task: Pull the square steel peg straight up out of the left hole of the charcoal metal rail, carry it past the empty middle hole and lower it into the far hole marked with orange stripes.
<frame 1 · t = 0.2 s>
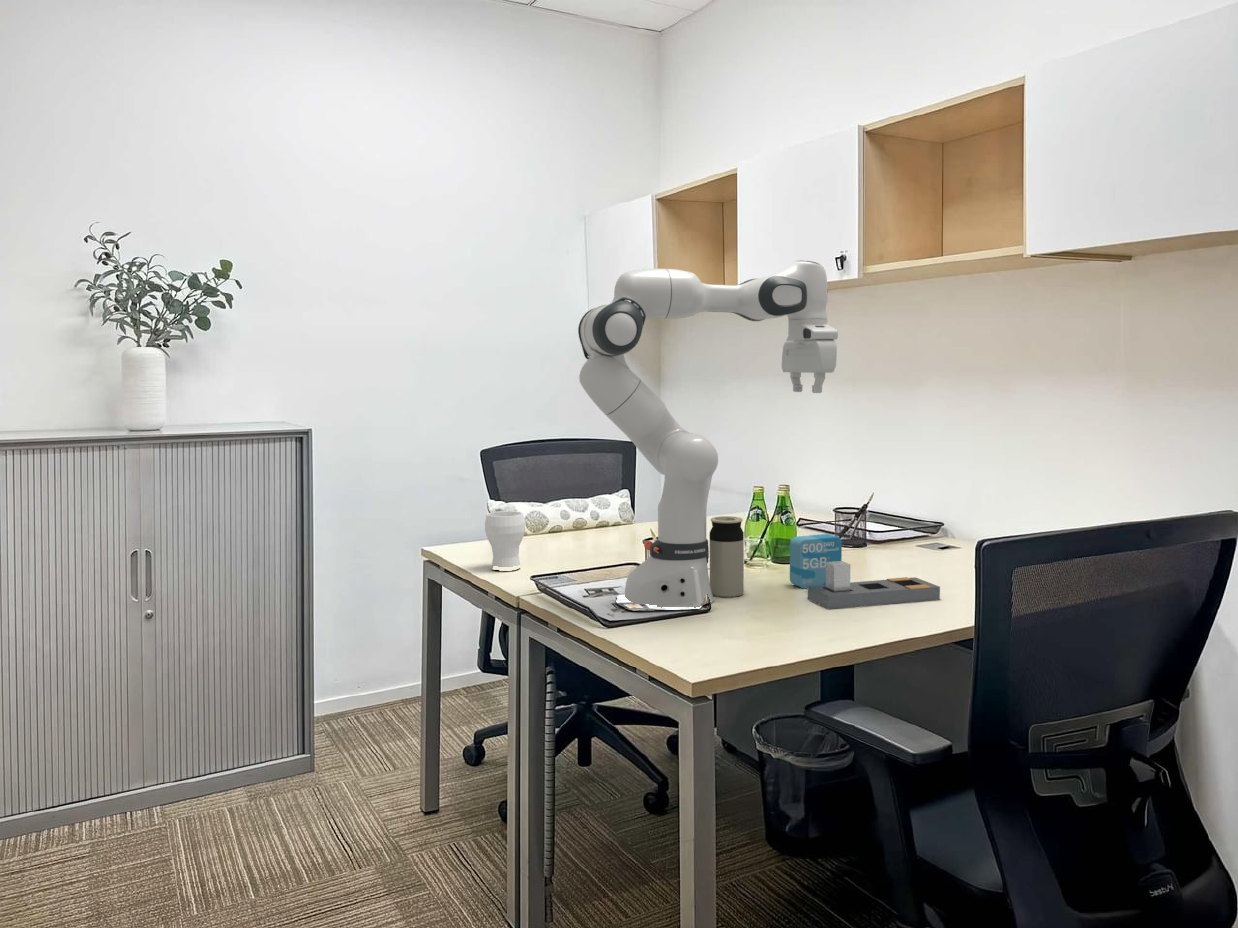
hand: (807, 392, 221), 47 cm above the table, tool pointing down, fingers open, 8 cm apart
cup: (506, 569, 254), on the table
hole rail: (873, 599, 217), on the table
travel mug: (726, 594, 224), on the table
steel peg: (837, 602, 215), resting in hole rail
data package: (815, 585, 232), on the table
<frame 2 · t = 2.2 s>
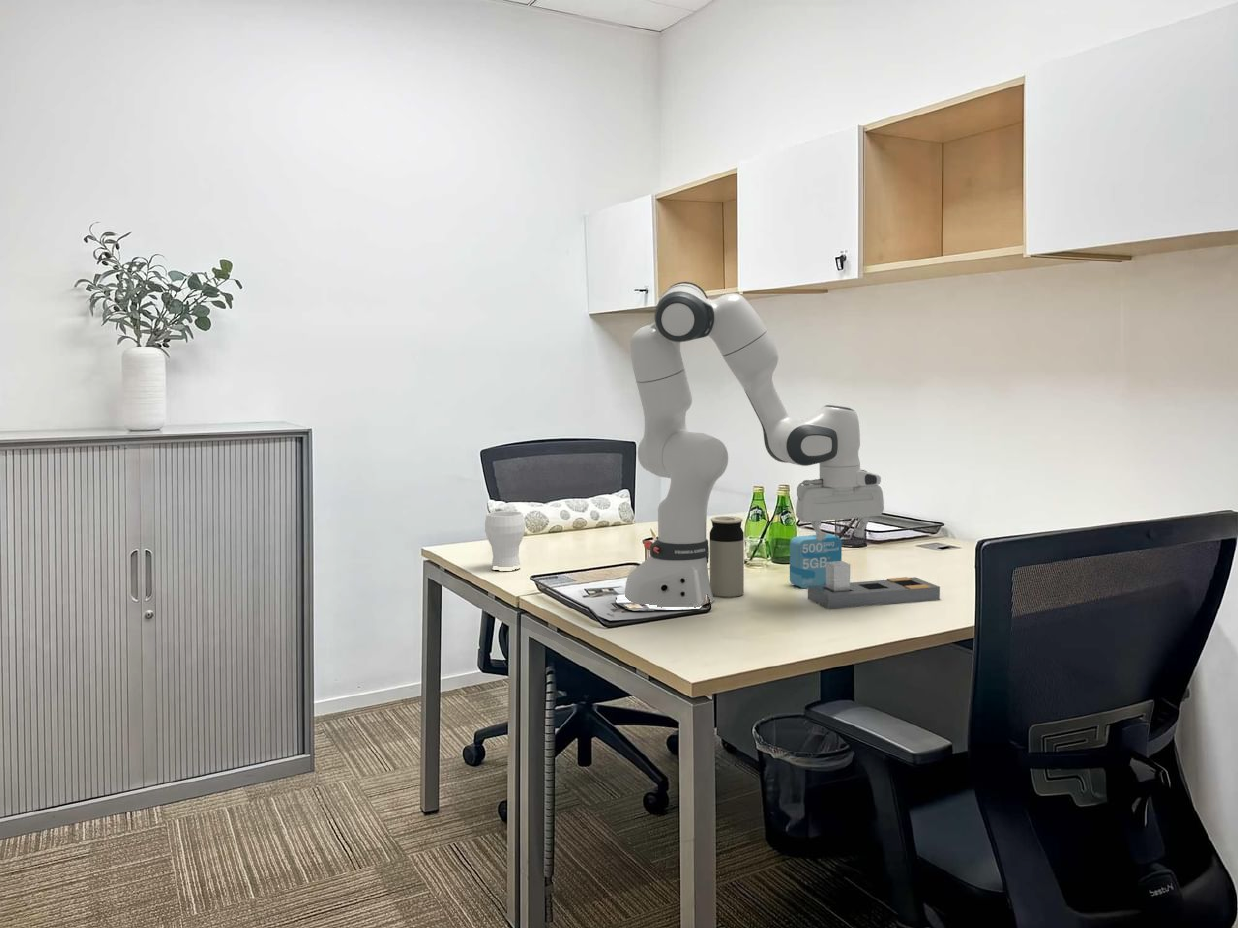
hand: (840, 538, 213), 15 cm above the table, tool pointing down, fingers open, 8 cm apart
nothing on the table moved.
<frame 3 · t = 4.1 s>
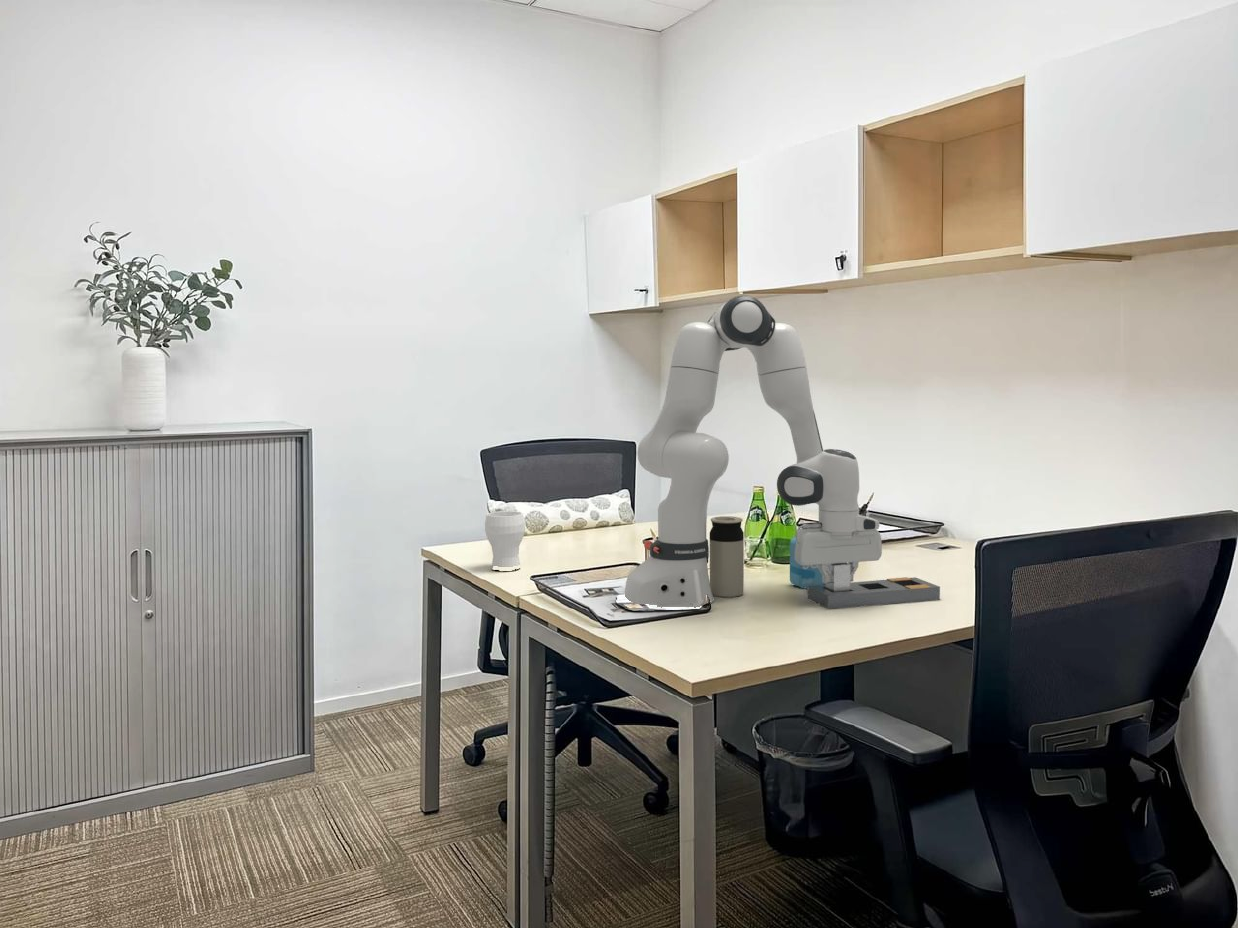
hand: (837, 582, 214), 5 cm above the table, tool pointing down, fingers closed on steel peg, 4 cm apart
steel peg: (837, 602, 215), resting in hole rail, touching gripper
everything else where it was.
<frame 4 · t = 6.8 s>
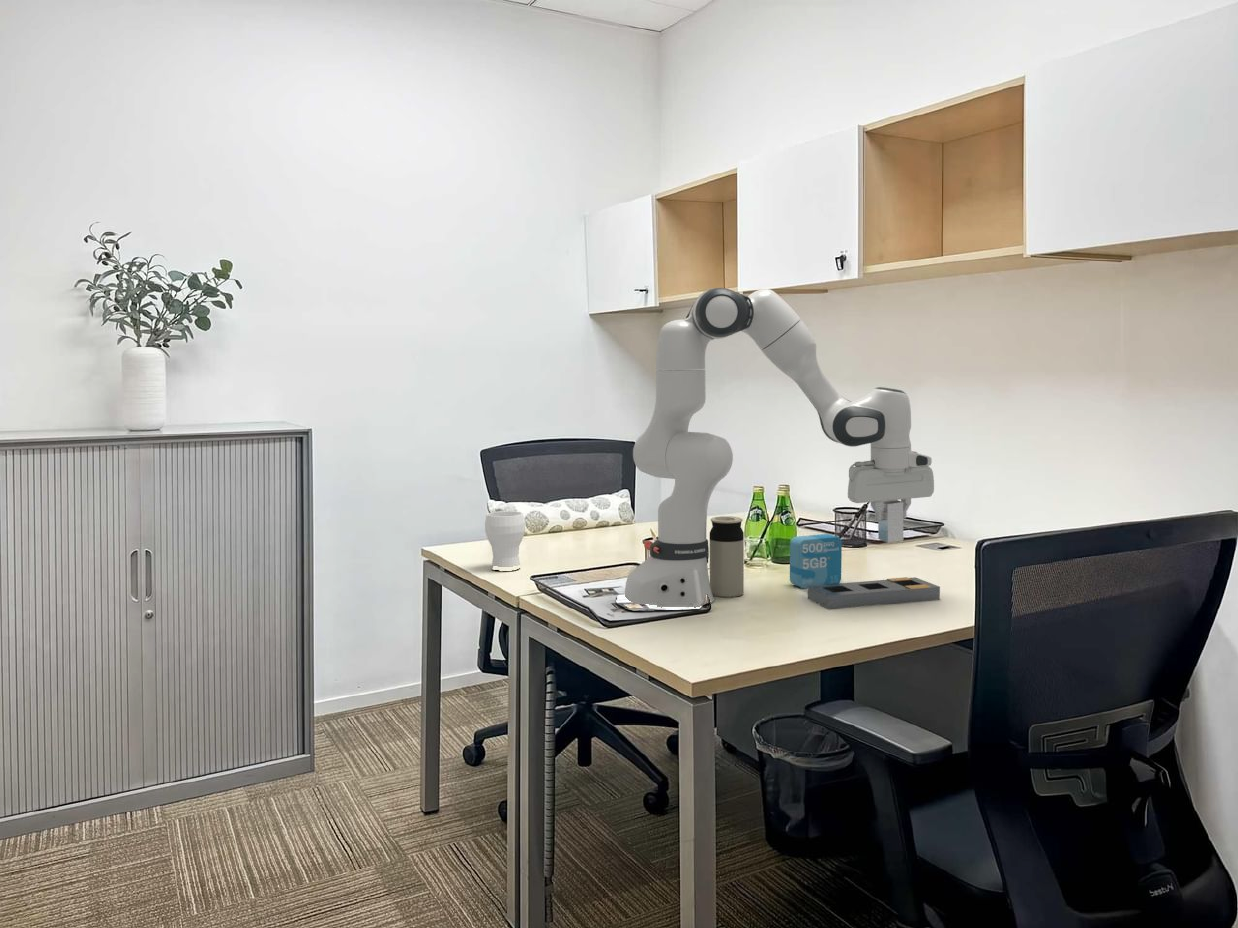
hand: (890, 519, 216), 18 cm above the table, tool pointing down, fingers closed on steel peg, 4 cm apart
steel peg: (890, 539, 217), point 14 cm above the table, tilted 6°, touching gripper
everything else where it was.
when the fingers open (6 cm above the table, at t = 9.6 s): steel peg drops 1 cm, resting in hole rail.
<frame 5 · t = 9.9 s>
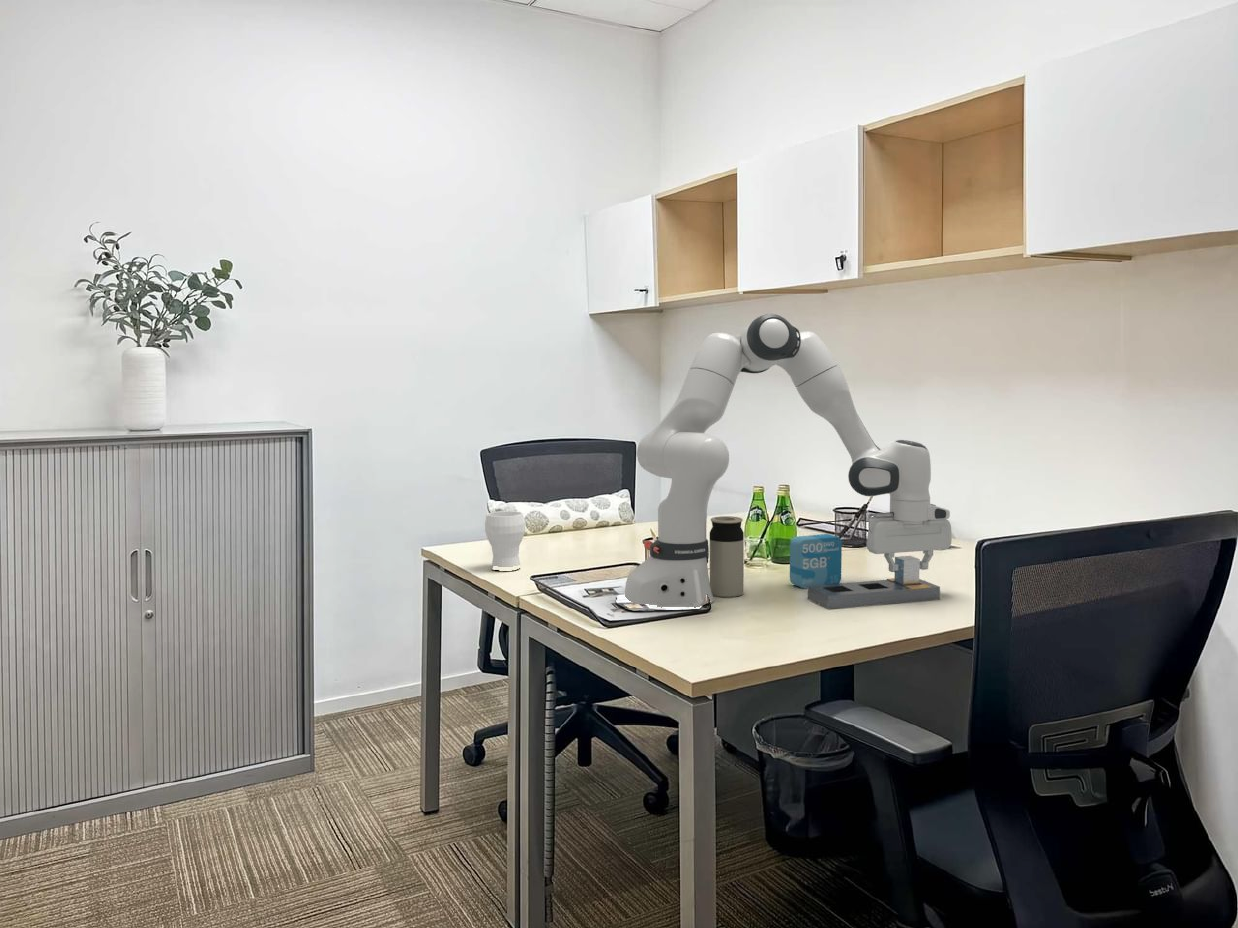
hand: (908, 570, 219), 6 cm above the table, tool pointing down, fingers open, 6 cm apart
steel peg: (906, 596, 220), resting in hole rail
everything else where it was.
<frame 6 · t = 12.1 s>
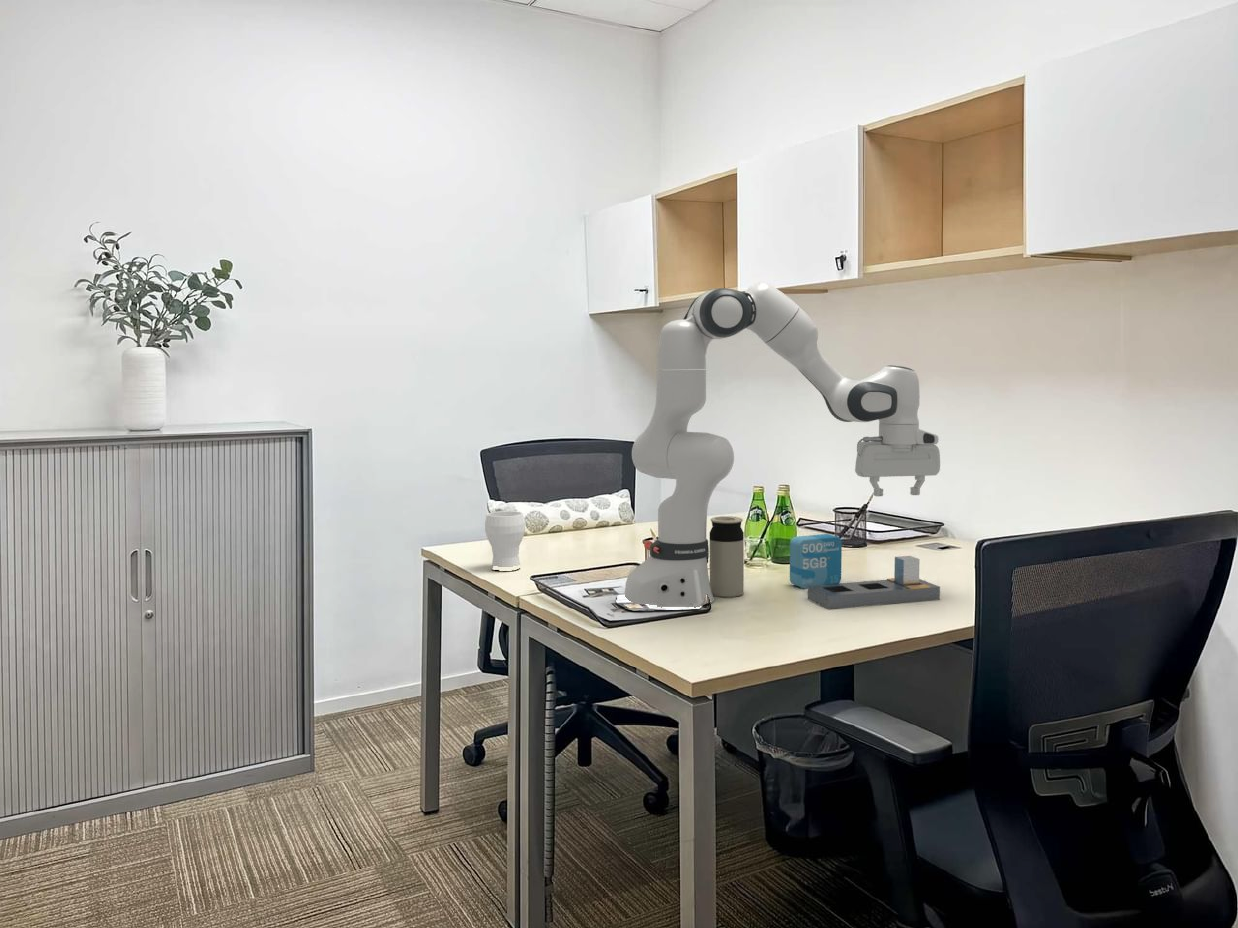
hand: (896, 495, 220), 23 cm above the table, tool pointing down, fingers open, 8 cm apart
nothing on the table moved.
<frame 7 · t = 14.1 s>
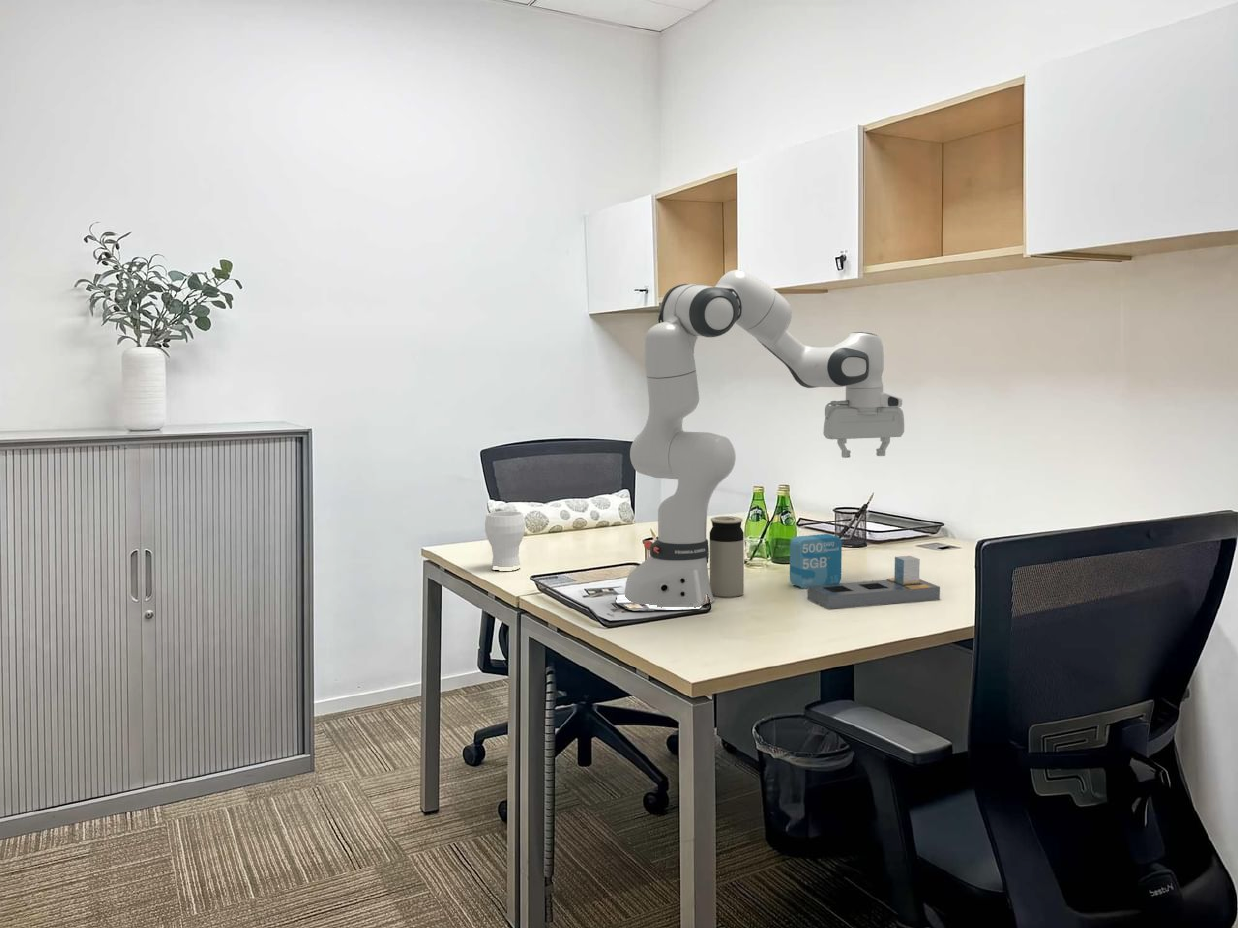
hand: (863, 456, 231), 31 cm above the table, tool pointing down, fingers open, 8 cm apart
nothing on the table moved.
at the end: steel peg 0.4 cm from the target spot on the hole rail, point 0.0 cm above the hole rail's base; steel peg tilted 0°; the gripper is holding nothing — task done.
